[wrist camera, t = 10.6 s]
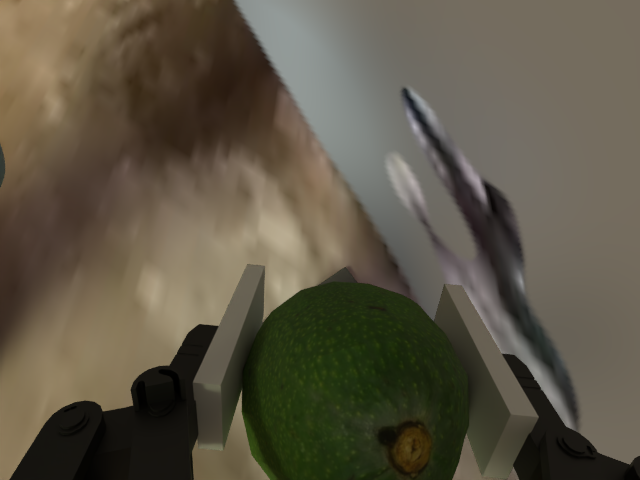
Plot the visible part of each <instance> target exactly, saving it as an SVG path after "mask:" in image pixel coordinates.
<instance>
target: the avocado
mask: <svg viewBox="0 0 640 480" xmlns="http://www.w3.org/2000/svg"><path fill="white" fill-rule="evenodd" d="M242 415H243V419H244V423H245V428H246V432H247V437H248V441H249V445H250V450H251V454H252V456H253V457H254V458H255V460H256V461H257V462H258V464H259V465H260V466H261V468H262V469H263V470H264V472H265V473H266V474H267V476H268V477H269V478H270V480H452V479H453V476H454V473H455V471H456V468H457V466H458V463H459V459H460V455H461V451H462V446H463V442H464V438H465V435H466V433H467V430H468V427H469V396H468V375H467V374H466V372H465V370H464V368H463V366H462V364H461V362H460V360H459V358H458V356H457V354H456V352H455V350H454V348H453V347H452V345H451V343H450V341H449V339H448V337H447V335H446V334H445V333H444V331H443V330H442V329H441V328H440V327H439V326H438V325H437V324H436V323H435V322H434V321H433V320H432V319H431V318H430V317H429V316H428V315H427V314H426V313H425V312H424V310H423V309H422V308H421V307H420V306H419V305H418V304H417V303H415V302H414V301H412V300H411V299H409V298H407V297H405V296H403V295H401V294H398V293H395V292H392V291H389V290H386V289H383V288H380V287H377V286H374V285H371V284H364V283H350V282H336V281H333V282H330V283H326V284H322V285H319V286H315V287H311V288H307V289H304V290H301V291H299V292H298V293H297V294H295V295H294V296H292V297H291V298H290V299H288V300H287V301H286V302H284V303H283V304H282V305H280V306H279V307H277V308H276V309H275V310H273V311H272V312H271V314H270V315H269V316H268V317H267V319H266V320H265V321H264V323H263V324H262V326H261V327H260V329H259V331H258V332H257V334H256V337H255V340H254V342H253V345H252V347H251V350H250V353H249V355H248V358H247V361H246V363H245V366H244V368H243V385H242Z"/></svg>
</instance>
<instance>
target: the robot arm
mask: <svg viewBox="0 0 640 480" xmlns="http://www.w3.org/2000/svg"><path fill="white" fill-rule="evenodd" d="M4 175H5V160H4V155H3V151H2V147H1V144H0V187H1V185H2V182H3V179H4ZM264 278H265V266H261V265H251V264H247V266H246V269H245V271H244V273H243V275H242V277H241V279H240V282H239V284H238V286H237V288H236V290H235V292H234V294H233V297H232V299H231V301H230V303H229V305H228V307H227V310H226V312H225V314H224V316H223V318H222V320H221V323H220V325H219V326H213V325H203V324H199V325H197V326H196V327H195V328H194V329H192V330H191V331H190V332H189V333H188V334H187V336H186V338H185V339H184V341H183V343H182V346H180V348H179V350H178V352H177V355H175V357H174V359H173V361H172V362H171V364H170V366H158V367H155V368H151V369H149V370H147V371H145V372H144V373H142V374H140V375H139V376H138V378H137V379H136V380H135V381H134V382H133V385H132V387H131V394H132V400H133V406H130V407H126V408H121V409H115V410H110V411H104V412H103V411H102V409H101V406H100V405H98V404H97V403H95V402H92V401H80V402H75V403H72V404H70V405H67V406H65V407H63V408H61V409H60V410H58V411H57V412H56V413H54V414H53V415H52V416H51V417H50V418H49V419H48V421H47V422H46V423H45V424H44V426H43V428H42V429H41V431H40V432H39V434H38V435H37V437H36V439H35V440H34V442H33V443H32V445H31V446H30V448H29V450H28V451H27V453H26V454H25V456H24V457H23V459H22V461H21V462H20V464H19V465H18V467H17V469H16V470H15V472H14V473H13V475H12V476H11V478H10V480H194V477H193V460H192V450H193V448H194V445H195V442H196V440H197V439H198V448H201V449H211V450H221V451H223V450H224V446H225V443H226V440H227V436H228V433H229V430H230V426H231V423H232V420H233V416H234V413H235V410H236V406H237V403H238V400H239V396H240V393H241V390H242V385H243V368H244V366H245V363H246V361H247V358H248V355H249V353H250V350H251V347H252V345H253V342H254V340H255V337H256V334H257V332H258V331H259V329H260V326H261V323H262V319H263V312H264ZM434 322H435V323H436V324H437V325H438V326H439V327H440V328H441V329H442V330H443V331H444V333H445V334H446V335H447V337H448V339H449V341H450V343H451V345H452V347H453V348H454V350H455V352H456V354H457V356H458V358H459V360H460V362H461V364H462V366H463V368H464V370H465V372H466V374H467V375H468V396H469V427H468V430H467V436H468V439H469V441H470V444H471V447H472V450H473V453H474V455H475V458H476V461H477V464H478V466H479V469H480V472H481V475H482V477H491V478H501V479H507V478H508V476H509V474H510V472H511V470H512V469H513V467H514V469H515V471H516V473H517V475H518V478H519V480H640V456H638V457H636V458H635V459H634V460H633V462H632V463H631V464H630V465H629V464H626V463H624V462H621V461H618V460H615V459H613V458H610V457H607V456H605V455H602V454H600V453H598V452H597V450H596V449H595V447H594V446H593V445H592V444H591V443H590V442H589V441H588V440H587V439H586V438H585V437H583V436H582V435H581V434H580V433H578V432H576V431H574V430H572V429H570V428H567V427H566V426H565V425H564V423H563V421H562V420H561V418H560V417H559V415H558V414H557V412H556V411H555V409H554V408H553V406H552V404H551V403H550V401H549V400H548V398H547V397H546V395H545V394H544V392H543V391H542V390H541V387H540V386H539V384H538V383H537V381H536V380H534V377H533V375H532V374H531V372H530V370H529V369H528V367H527V366H526V365H525V364H524V363H523V362H522V361H520V360H519V359H518V358H517V357H516V356H515V355H510V354H502V353H501V352H500V350H499V348H498V347H497V345H496V343H495V342H494V340H493V338H492V336H491V335H490V333H489V331H488V330H487V328H486V326H485V324H484V323H483V321H482V319H481V318H480V316H479V314H478V313H477V311H476V309H475V307H474V306H473V304H472V302H471V301H470V299H469V297H468V296H467V294H466V292H465V290H464V289H463V287H462V286H460V285H450V284H444V287H443V291H442V294H441V298H440V302H439V305H438V309H437V312H436V316H435V319H434Z"/></svg>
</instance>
